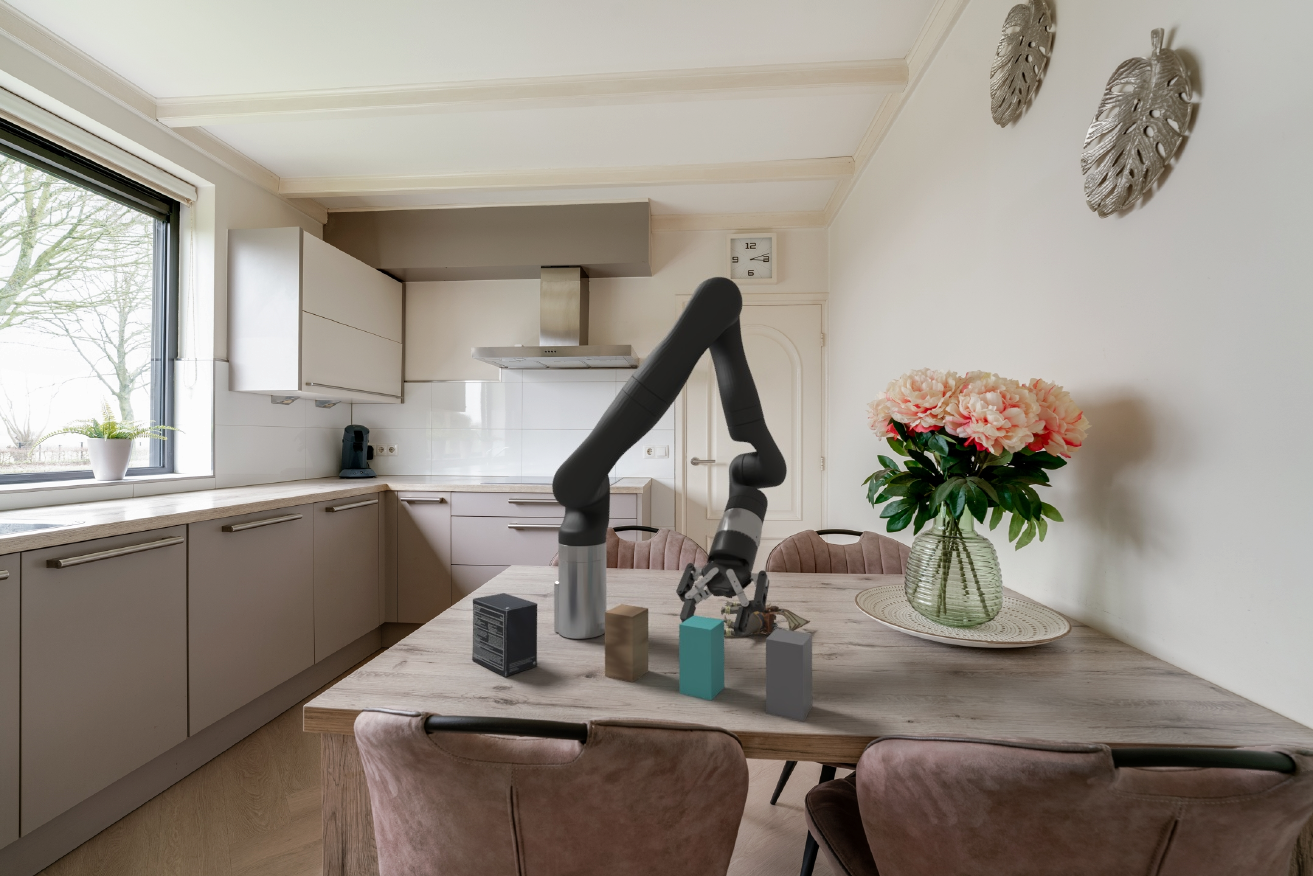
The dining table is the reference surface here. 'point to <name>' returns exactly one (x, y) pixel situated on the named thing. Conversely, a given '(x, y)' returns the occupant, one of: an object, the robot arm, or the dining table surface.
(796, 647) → the charcoal block
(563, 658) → the dining table surface
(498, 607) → the small box
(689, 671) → the teal block
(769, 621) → the figurine
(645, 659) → the walnut block
